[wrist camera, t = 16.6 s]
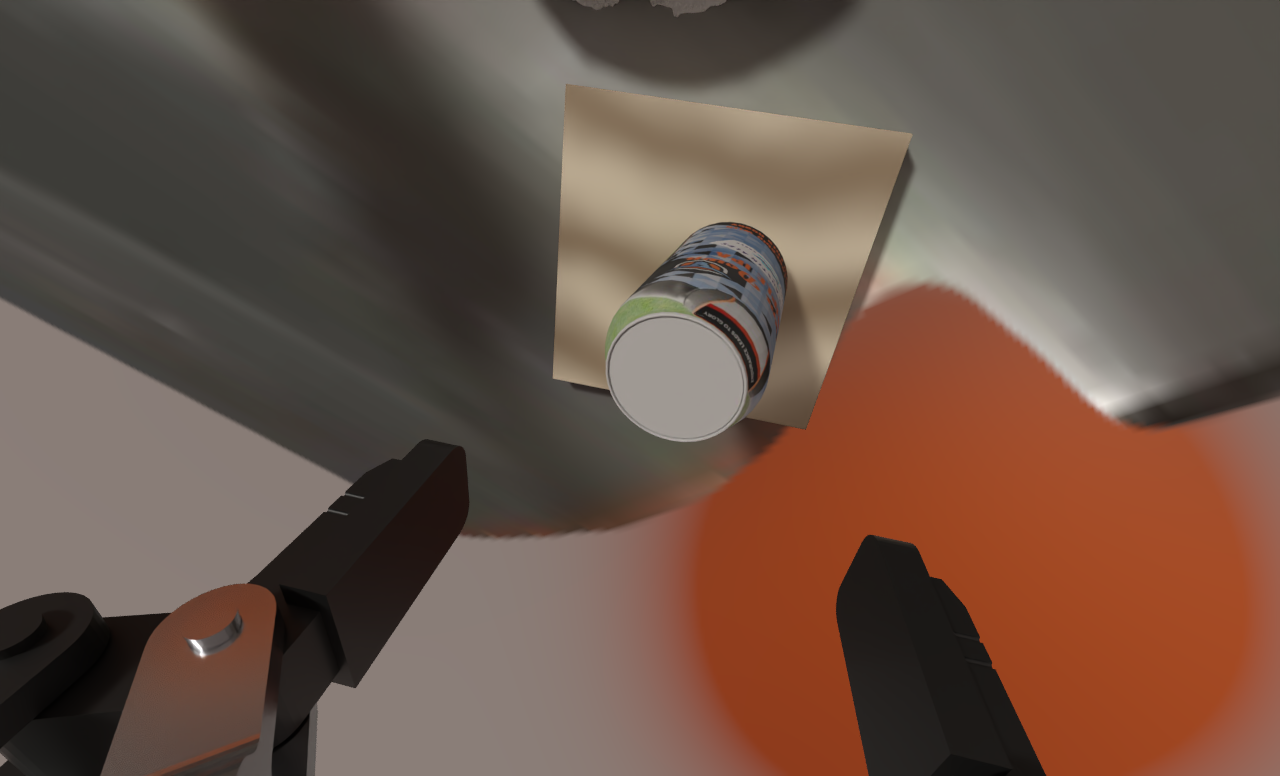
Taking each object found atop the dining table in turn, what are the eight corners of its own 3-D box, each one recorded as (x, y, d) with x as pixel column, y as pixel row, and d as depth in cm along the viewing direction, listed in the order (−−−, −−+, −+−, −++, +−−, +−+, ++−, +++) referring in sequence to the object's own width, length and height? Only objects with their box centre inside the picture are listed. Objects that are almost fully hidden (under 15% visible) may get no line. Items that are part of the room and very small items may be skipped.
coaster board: (575, 86, 24) (566, 83, 23) (902, 133, 23) (912, 133, 21) (560, 368, 32) (552, 378, 31) (802, 416, 30) (805, 429, 29)
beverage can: (802, 301, 26) (849, 418, 15) (680, 355, 28) (648, 486, 18) (753, 190, 23) (768, 237, 13) (627, 260, 26) (555, 346, 16)
